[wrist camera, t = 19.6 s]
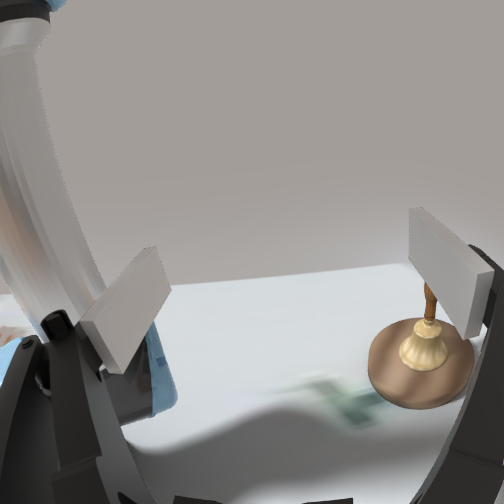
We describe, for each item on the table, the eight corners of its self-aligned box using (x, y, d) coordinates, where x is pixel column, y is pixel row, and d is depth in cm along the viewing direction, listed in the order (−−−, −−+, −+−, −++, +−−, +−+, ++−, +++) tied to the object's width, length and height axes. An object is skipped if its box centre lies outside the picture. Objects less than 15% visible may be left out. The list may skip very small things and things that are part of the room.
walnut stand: (350, 394, 41) (351, 381, 40) (386, 323, 53) (386, 311, 52) (460, 418, 30) (466, 406, 28) (473, 338, 42) (477, 325, 41)
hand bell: (427, 380, 35) (447, 286, 29) (388, 354, 42) (394, 264, 36) (456, 349, 38) (475, 259, 32) (418, 329, 45) (427, 243, 39)
